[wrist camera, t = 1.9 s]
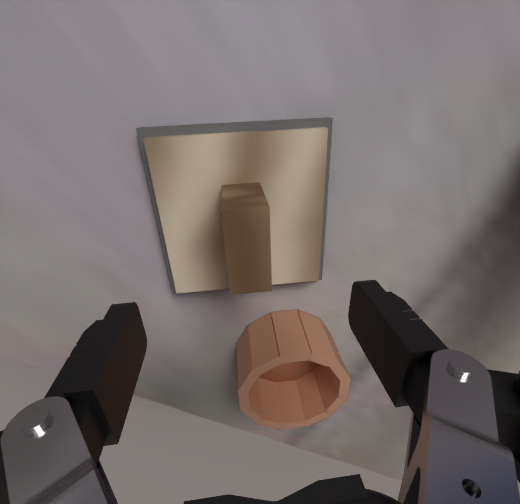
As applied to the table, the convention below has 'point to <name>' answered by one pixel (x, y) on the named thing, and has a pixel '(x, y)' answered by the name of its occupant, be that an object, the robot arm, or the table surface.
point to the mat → (228, 128)
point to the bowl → (289, 371)
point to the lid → (240, 207)
